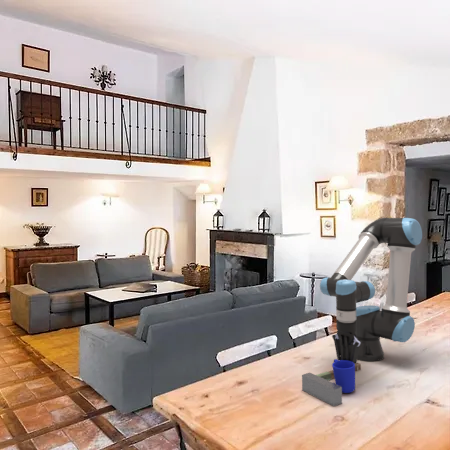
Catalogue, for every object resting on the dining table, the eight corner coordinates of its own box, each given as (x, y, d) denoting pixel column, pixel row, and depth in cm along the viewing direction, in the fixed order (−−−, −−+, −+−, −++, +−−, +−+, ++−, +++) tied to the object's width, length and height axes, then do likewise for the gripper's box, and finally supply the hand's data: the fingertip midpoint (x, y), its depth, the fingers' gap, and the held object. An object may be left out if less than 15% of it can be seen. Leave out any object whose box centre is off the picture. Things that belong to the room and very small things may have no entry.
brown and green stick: (305, 384, 167) (305, 377, 167) (356, 368, 183) (356, 362, 183) (309, 386, 165) (309, 379, 165) (361, 369, 182) (361, 363, 181)
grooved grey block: (302, 390, 162) (302, 374, 162) (311, 387, 165) (310, 372, 164) (333, 406, 149) (333, 389, 149) (343, 403, 151) (342, 386, 151)
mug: (347, 379, 170) (344, 355, 169) (361, 392, 158) (358, 366, 157) (327, 383, 169) (325, 358, 168) (340, 396, 157) (337, 370, 156)
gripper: (326, 318, 169) (327, 376, 170) (353, 325, 158) (353, 388, 159) (340, 315, 173) (340, 372, 174) (366, 322, 162) (367, 383, 163)
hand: (347, 379), depth 167 cm, fingers closed
